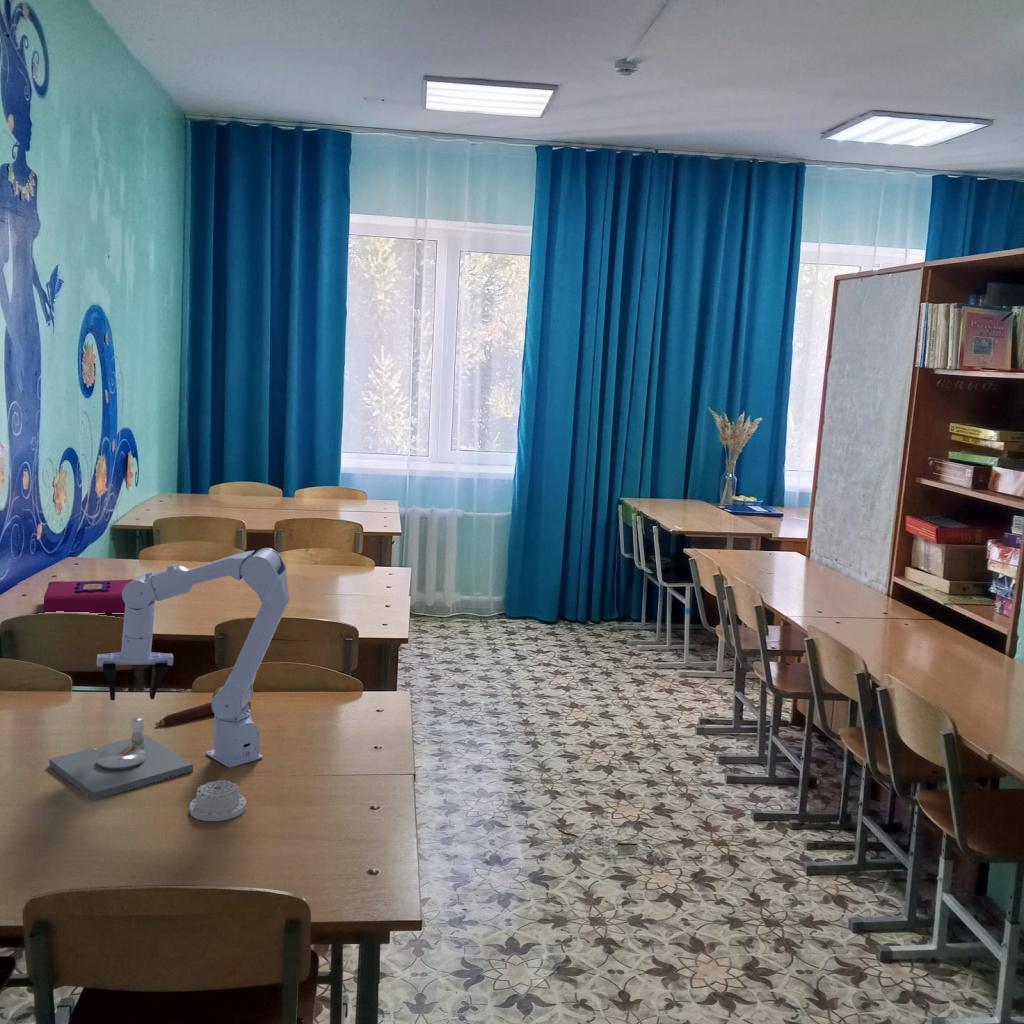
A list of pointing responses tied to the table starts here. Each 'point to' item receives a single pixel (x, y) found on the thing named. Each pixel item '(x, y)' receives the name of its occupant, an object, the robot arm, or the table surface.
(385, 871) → the table surface
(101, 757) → the dial
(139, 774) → the dial plate
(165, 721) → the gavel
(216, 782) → the mechanical component
